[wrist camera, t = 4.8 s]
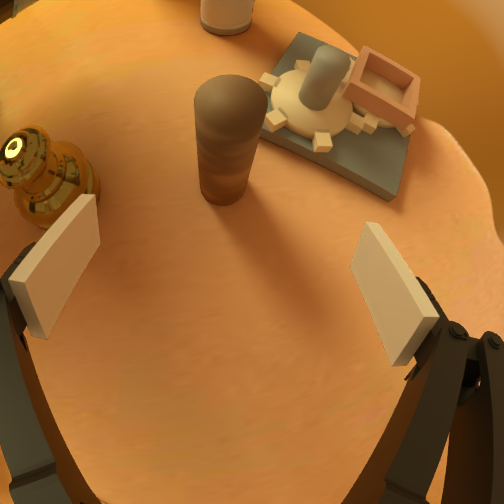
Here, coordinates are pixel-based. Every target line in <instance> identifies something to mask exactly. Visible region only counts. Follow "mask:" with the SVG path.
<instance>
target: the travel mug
mask: <svg viewBox="0 0 504 504" xmlns="http://www.w3.org/2000/svg"><path fill="white" fill-rule="evenodd" d="M254 1H255V0H201V25H202V27H203V28H204V29H205V30H207V31H209V32H211V33H214V34H218V35H235V34H239V33H241V32H244V31H245V30H247V29H248V28H249V26H250V24H251V18H252V12H253V6H254Z"/></svg>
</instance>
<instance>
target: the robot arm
mask: <svg viewBox="0 0 504 504" xmlns="http://www.w3.org/2000/svg"><path fill="white" fill-rule="evenodd" d="M37 1H38V0H0V24H2V23H3V22H5V21H6V20H8V19H9V18H12V19H13V18H14V17H16V15H17V14H18V13H19V12H21V11H22V10H24V9H26V8H27V7H29V6H30V5H32V4H34V3H36V2H37ZM100 244H101V241H100V234H99V226H98V217H97V208H96V197H95V194H81V195H80V196H79V197H78V198H77V199H76V200H75V201H74V202H73V203H72V204H71V205H70V206H69V208H68V209H67V210H66V211H65V212H64V213H63V214H62V215H61V216H60V217H59V218H58V219H57V221H56V222H55V223H54V224H53V225H52V226H51V227H50V228H49V230H48V231H47V232H46V233H45V234H44V235H43V236H42V238H41V239H40V240H39V241H38V242H37V243H35V242H33V243H32V244H30V245H29V246H27V247H26V248H24V250H23V251H22V252H21V253H20V254H19V256H18V258H16V259H15V261H14V262H13V264H11V265H10V267H9V268H8V269H7V271H6V272H5V273H4V274H3V276H2V277H1V278H0V445H1V448H2V451H3V454H4V457H5V460H6V463H7V465H8V468H9V470H10V473H11V476H12V482H11V483H10V484H9V491H10V494H11V497H12V499H13V502H14V504H102V503H101V501H100V500H99V499H98V498H97V497H96V495H95V494H94V493H93V492H92V490H91V489H90V487H89V486H88V484H87V483H86V481H85V479H84V477H83V476H82V474H81V472H80V470H79V468H78V467H77V465H76V463H75V461H74V459H73V457H72V455H71V453H70V451H69V449H68V447H67V445H66V443H65V441H64V439H63V437H62V435H61V433H60V431H59V429H58V426H57V424H56V422H55V420H54V417H53V415H52V413H51V410H50V408H49V405H48V403H47V400H46V398H45V395H44V393H43V390H42V387H41V385H40V382H39V379H38V376H37V373H36V370H35V367H34V364H33V361H32V358H31V355H30V351H29V348H28V345H27V341H26V338H25V336H24V334H23V331H24V330H25V328H26V326H27V327H28V329H29V331H30V333H31V335H32V336H34V337H38V338H43V339H48V337H49V335H50V333H51V331H52V329H53V327H54V325H55V323H56V321H57V319H58V317H59V315H60V313H61V312H62V310H63V308H64V306H65V304H66V302H67V300H68V298H69V297H70V295H71V293H72V291H73V289H74V288H75V286H76V284H77V282H78V280H79V279H80V277H81V275H82V274H83V272H84V270H85V268H86V267H87V265H88V263H89V262H90V260H91V258H92V257H93V255H94V253H95V252H96V250H97V249H98V247H99V245H100ZM350 268H351V271H352V273H353V275H354V277H355V280H356V282H357V284H358V286H359V289H360V291H361V293H362V295H363V298H364V300H365V302H366V305H367V307H368V309H369V312H370V314H371V317H372V319H373V321H374V324H375V326H376V329H377V331H378V334H379V336H380V339H381V341H382V344H383V346H384V349H385V351H386V354H387V357H388V359H389V362H390V364H391V367H392V366H405V365H407V364H408V363H409V361H410V360H411V359H412V357H413V356H414V357H415V359H416V362H417V363H416V365H415V366H414V367H413V369H412V370H411V371H410V373H409V374H408V375H407V376H406V378H405V379H404V380H407V379H408V378H409V379H408V381H407V383H406V386H405V388H404V390H403V393H402V395H401V397H400V399H399V402H398V404H397V406H396V408H395V410H394V412H393V414H392V417H391V419H390V421H389V423H388V425H387V427H386V429H385V431H384V433H383V435H382V436H381V438H380V440H379V442H378V444H377V446H376V448H375V449H374V451H373V453H372V455H371V457H370V458H369V460H368V462H367V464H366V465H365V467H364V469H363V470H362V472H361V474H360V475H359V477H358V479H357V480H356V482H355V484H354V485H353V487H352V488H351V490H350V491H349V493H348V494H347V496H346V497H345V499H344V500H343V502H342V503H341V504H430V503H429V502H427V501H426V494H427V492H428V489H429V487H430V484H431V482H432V480H433V477H434V474H435V472H436V469H437V467H438V464H439V461H440V458H441V456H442V453H443V450H444V447H445V444H446V441H447V437H448V434H449V445H448V457H447V466H446V474H445V481H444V488H443V494H442V500H441V504H504V342H503V340H502V339H501V337H500V336H498V335H497V334H495V333H493V332H490V331H487V332H485V333H484V334H483V336H482V337H481V338H480V339H476V338H472V337H469V334H468V332H467V331H466V330H465V328H464V327H463V326H461V325H460V324H459V323H456V322H454V321H449V320H448V318H447V317H446V315H445V313H444V312H443V310H442V308H441V307H440V305H439V304H438V302H437V301H436V299H435V297H434V296H433V294H431V293H432V292H431V291H430V289H429V288H428V286H427V285H426V284H425V283H424V282H423V281H422V280H421V279H420V278H419V277H415V276H414V274H413V273H412V271H411V270H410V268H409V266H408V265H407V263H406V262H405V260H404V259H403V258H402V256H401V255H400V253H399V252H398V250H397V249H396V247H395V246H394V244H393V243H392V241H391V240H390V239H389V237H388V236H387V234H386V233H385V232H384V230H383V229H382V227H381V226H380V225H379V223H373V222H366V221H365V224H364V227H363V230H362V233H361V236H360V239H359V241H358V244H357V247H356V250H355V253H354V256H353V258H352V261H351V264H350ZM480 381H481V382H480ZM479 382H480V386H479Z"/></svg>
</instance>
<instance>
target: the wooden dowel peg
mask: <svg viewBox="0 0 504 504" xmlns="http://www.w3.org/2000/svg"><path fill="white" fill-rule="evenodd" d="M194 109H195V126H196V140H197V154H198V167H199V179H200V189H201V192H202V194H203V196H204V197H205V199H207V200H208V201H209V202H210V203H212V204H215V205H219V206H227V205H231V204H234V203H235V202H237V201H238V200H239V199H240V198H241V197H242V196H243V194H244V192H245V188H246V185H247V181H248V177H249V173H250V170H251V166H252V162H253V159H254V155H255V152H256V148H257V144H258V141H259V137H260V134H261V130H262V126H263V123H264V119H265V116H266V112H267V109H268V98H267V95H266V93H265V91H264V90H263V89H262V87H261V86H260V85H258V84H257V83H256V82H254V81H253V80H251V79H249V78H246V77H243V76H239V75H221V76H217V77H214V78H212V79H210V80H208V81H206V82H205V83H204V84H202V85H201V86H200V88H199V89H198V90H197V92H196V94H195V98H194Z"/></svg>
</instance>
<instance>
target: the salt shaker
mask: <svg viewBox="0 0 504 504" xmlns="http://www.w3.org/2000/svg"><path fill="white" fill-rule="evenodd" d="M0 183H1V184H2V185H3V186H4V187H6V188H8V189H14V200H15V204H16V207H17V209H18V211H19V213H20V214H21V215H22V216H23V217H24V218H25V219H26V220H27V221H29V222H31V223H34V224H35V225H37V226H38V227H40V228H42V229H45V230H47V231H48V230H49V228H50V227H51V226H52V225H53V224H54V223H55V222H56V221H57V219H58V218H59V217H60V216H61V215H62V214H63V213H64V212H65V211H66V210H67V209H68V208H69V206H70V205H71V204H72V203H73V202H74V201H75V200H76V199H77V198H78V197H79V196H80V195H81V194H95V197H96V206H97V203H98V200H99V195H100V183H99V179H98V176H97V174H96V172H95V171H94V169H93V168H92V166H91V164H90V163H89V161H88V160H87V159H86V158H85V157H84V155H83V153H82V152H81V150H80V149H79V148H78V147H77V146H75V145H74V144H72V143H70V142H66V141H53V142H50V137H49V135H48V133H47V132H46V131H45V130H44V129H43V128H42V127H40V126H37V125H29V126H26V127H23V128H21V129H19V130H17V131H16V132H15V133H13V134H12V135H11V136H10V137H9V138H8V139H7V141H6V142H5V143H4V145H3V146H2V148H1V150H0Z"/></svg>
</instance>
